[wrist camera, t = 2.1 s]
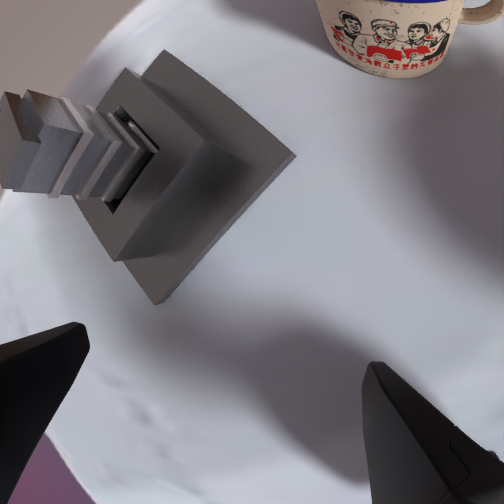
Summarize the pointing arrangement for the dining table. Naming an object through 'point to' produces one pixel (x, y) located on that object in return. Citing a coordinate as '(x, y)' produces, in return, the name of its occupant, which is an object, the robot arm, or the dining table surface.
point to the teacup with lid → (398, 32)
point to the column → (69, 148)
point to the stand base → (181, 173)
